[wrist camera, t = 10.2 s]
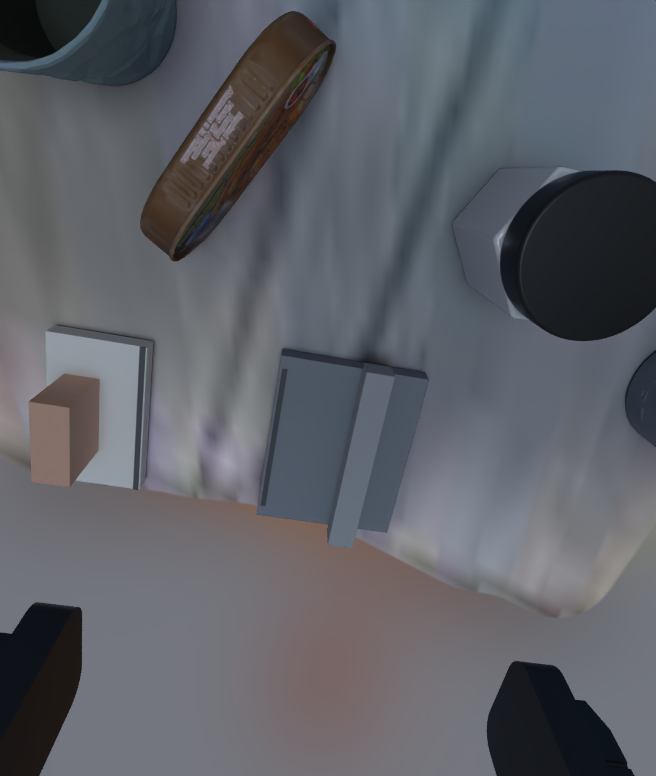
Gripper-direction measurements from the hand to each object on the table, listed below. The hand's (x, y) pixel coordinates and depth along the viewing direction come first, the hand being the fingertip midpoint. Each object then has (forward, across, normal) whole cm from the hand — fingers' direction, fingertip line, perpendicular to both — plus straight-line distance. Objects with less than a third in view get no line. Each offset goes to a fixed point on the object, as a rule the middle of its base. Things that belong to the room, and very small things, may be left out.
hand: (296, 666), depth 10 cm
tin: (+30, +6, -9) cm, 32 cm away
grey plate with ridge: (+30, -4, +11) cm, 32 cm away
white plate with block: (+30, +14, +11) cm, 35 cm away
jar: (+30, -13, -7) cm, 34 cm away
